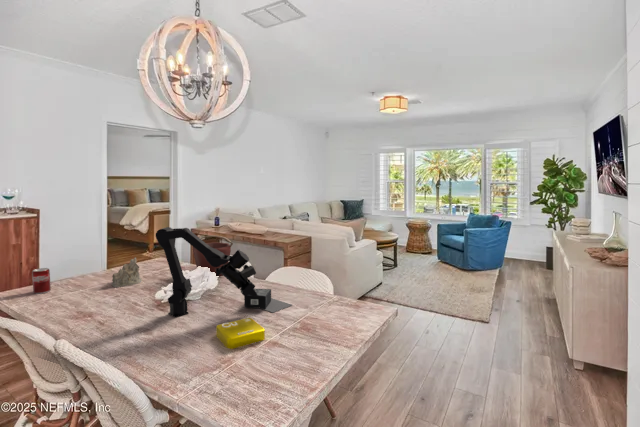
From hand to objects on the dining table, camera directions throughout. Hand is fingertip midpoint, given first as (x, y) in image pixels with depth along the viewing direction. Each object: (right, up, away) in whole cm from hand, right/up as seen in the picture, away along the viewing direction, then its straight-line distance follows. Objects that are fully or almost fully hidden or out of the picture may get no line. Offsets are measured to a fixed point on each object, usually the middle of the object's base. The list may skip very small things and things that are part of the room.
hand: (256, 295), depth 163 cm
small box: (-1, -4, +1) cm, 4 cm away
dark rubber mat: (+6, -6, +8) cm, 11 cm away
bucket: (-39, -1, +60) cm, 72 cm away
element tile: (-1, -10, -27) cm, 29 cm away
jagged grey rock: (-83, -2, +42) cm, 93 cm away
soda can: (-117, -4, +23) cm, 120 cm away
